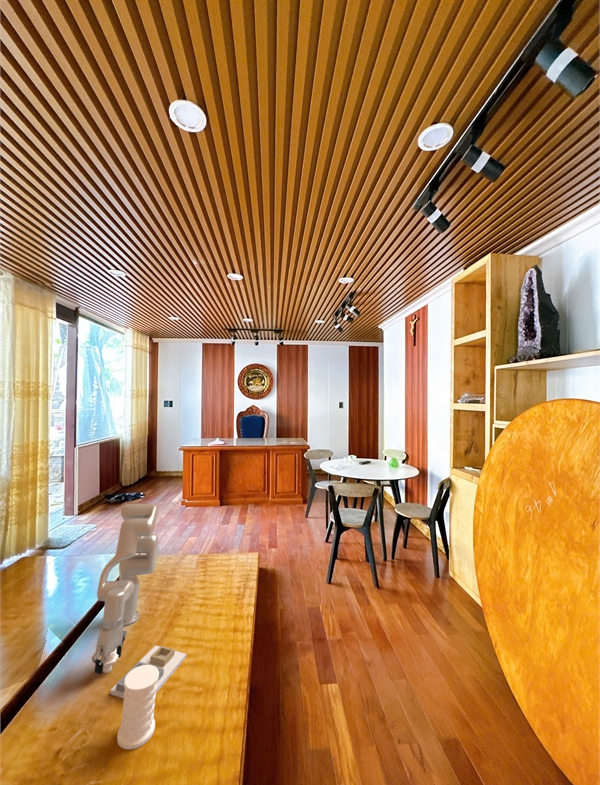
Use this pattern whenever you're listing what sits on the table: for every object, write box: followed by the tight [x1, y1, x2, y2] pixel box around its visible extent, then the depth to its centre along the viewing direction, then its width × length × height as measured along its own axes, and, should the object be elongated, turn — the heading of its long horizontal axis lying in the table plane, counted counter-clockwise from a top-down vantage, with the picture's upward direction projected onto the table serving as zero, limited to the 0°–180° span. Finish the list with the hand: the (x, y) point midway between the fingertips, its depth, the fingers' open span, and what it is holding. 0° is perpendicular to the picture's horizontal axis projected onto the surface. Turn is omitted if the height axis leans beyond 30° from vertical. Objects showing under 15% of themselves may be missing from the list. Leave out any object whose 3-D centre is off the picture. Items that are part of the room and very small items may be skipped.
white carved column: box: [116, 665, 159, 750], centre depth 113 cm, size 12×12×18 cm
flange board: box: [109, 645, 187, 700], centre depth 137 cm, size 16×26×4 cm, turn 166°
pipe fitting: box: [99, 648, 119, 674], centre depth 137 cm, size 6×7×8 cm
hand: (108, 664), depth 137 cm, fingers open, 9 cm apart
